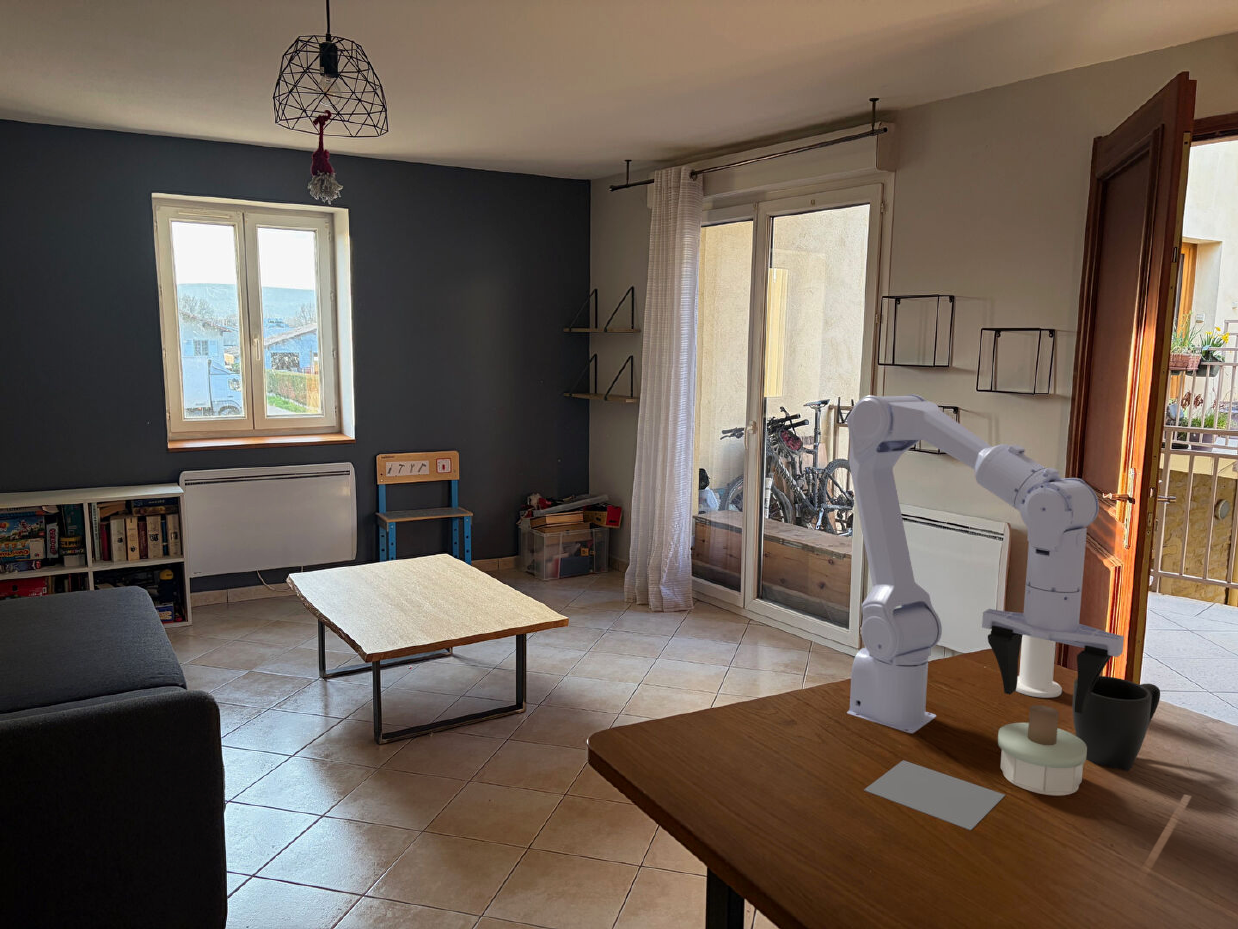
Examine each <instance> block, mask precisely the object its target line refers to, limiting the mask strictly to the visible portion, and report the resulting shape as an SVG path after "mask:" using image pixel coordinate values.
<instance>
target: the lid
mask: <svg viewBox="0 0 1238 929" xmlns="http://www.w3.org/2000/svg"><path fill="white" fill-rule="evenodd" d="M1028 711H1029V713H1028V722H1012V723H1008V724H1004V725H1003V726H1001V727H1000V728H999V730H998V735H997V745H998V747H999V748H1000V749H1001V751H1002V750H1003V751H1004V752H1006V753H1007V754H1009V755H1010V756H1012V757H1014V758H1016V759H1019V760H1021V761H1024V762H1027V763H1030V764H1034V765H1038V766H1043V767H1050V768H1072V767H1077V766H1080V765H1082V764H1083V765H1084V764H1085V763H1086V761H1087V760H1086V754H1087V746H1086V744H1085V743H1084V742H1083V741H1082V740H1081V739H1080V738H1078V737H1077V736H1076V734H1074V733H1071V732H1070V731H1068V730H1064V729H1061V728H1059V711H1058V710H1057V709H1056V708H1053V707H1050V706H1047V705H1040V704H1038V705H1036V704H1035V705H1031V706H1029V710H1028Z"/></svg>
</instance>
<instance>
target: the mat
mask: <svg viewBox="0 0 1238 929" xmlns="http://www.w3.org/2000/svg"><path fill="white" fill-rule="evenodd" d="M863 791H864V792H866V793H870V794H872V795H875V796H878V797H881V798H883V799H886V800H889V801H891V802H894V803H896V804H899V805H902V806H905V807H907V808H910V809H913V810H915V811H917V812H920V813H923V814H926V815H928V816H931V817H934V818H936V819H939V820H942V821H944V822H948V823H950V824H953V825H955V826H958V827H961V828H963V829H966V830H968V831H972V830H974V828H975V827H976V826H977V825H978V824H979V822H981V821H982V820H983V819H984V818H985V817H986V816H987V815H988V814H989V813H990V812H991V811H992V810H993V809H994V807H995V806H997V804H999V803H1000V801H1002V799H1003V798H1005V797H1006V794H1004V793H1000V792H999V791H995V790H993V789H989V788H986V787H984V786H980V785H977V784H975V783H972V782H969V781H966V780H962V779H960V778H957V777H954V776H951V775H948V774H945V773H942V772H940V771H936V770H935V769H930V768H928V767H924V766H921V765H918V764H915V763H912V762H909V761H906V760H904V759H903V760H902V761H900V762H898V764H896V765H894V766H893V767H892V768H891V769H890V770H888V771H887V772H885V773H884V774H883V775H882V776H880V777H878V778H877V779H876V780H875V781H874V782H872V783H871V784H870V785H868V786H867V787H866V788H865V789H863Z"/></svg>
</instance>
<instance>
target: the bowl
mask: <svg viewBox="0 0 1238 929" xmlns="http://www.w3.org/2000/svg"><path fill="white" fill-rule="evenodd" d="M1000 769H1001V770H1002V774H1003V776H1004V777H1005V778H1006V780H1007V781H1008V782H1010V783H1011V784H1013V785H1015V786H1017V787H1019V788H1021V789H1022V790H1023V789H1024V790H1027V791H1029V792H1033V793H1036V794H1040V795H1041V794H1042V795H1047V796H1066V795H1071V794H1073V793H1076V792H1077V791H1078V790H1079V788H1080V784H1081V783H1082V782H1083V771H1084V770H1083V769H1084V763H1083V764H1082V765H1080V766H1077V767H1072V768H1050V767H1043V766H1038V765H1034V764H1030V763H1027V762H1024V761H1021V760H1019V759H1016V758H1014V757H1012V756H1010V755H1009V754H1007V753H1006V752H1004V751H1003V750H1002V749H1001V755H1000Z"/></svg>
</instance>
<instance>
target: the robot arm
mask: <svg viewBox="0 0 1238 929" xmlns="http://www.w3.org/2000/svg"><path fill="white" fill-rule="evenodd" d="M846 424H847V429H848V433H849V434H848V435H849V440H850V448H849V456H848V463H849V464H848V465H849V470H850V476H851V480H852V486H853V490H854V496H855V501H856V506H857V512H858V516H859V522H860V527H861V533H862V537H863V543H864V547H865V553H866V558H867V563H868V569H869V573H870V579H871V583H872V584H871V585H872V588H871V591H870V592H869V593H868V595H867V596H866V598H864V601H862V604H861V612H862V622H861V626H860V627H861V628H860V633H861V634H860V636H861V639H862V643H863V646H864V647H863V648H861V649H860V650H859V651H858V652H857V653H856V655H855V657H854V658H853V659H854V660H853V663H852V667H851V675H850V692H849V693H850V697H849V710H848V711H847V712H846V713H847V714H848V715H851V716H855V717H858V718H861V719H864V720H866V721H869V722H873V723H877V724H880V725H883V726H886V727H888V728H889V727H890V728H892V729H896V730H899V731H901V732H905V733H908V734H914V733H915V732H917V731H918V730H920V729H921V728H922V727H924V726H926V725H927V724H928V723H929V722H931V721H932V720H934V719H935V718H937V715H936V714H935V713H932V712H928V711H926V707H927V706H926V704H927V685H928V670H929V658H930V656H932V648H934V647H935V646H936V645H938V643H939V642H940V640H941V637H942V631H943V627H942V622H941V618H940V617H939V615H938V613H937V612H936V610H935V609H934V607H933V605H932V602H931V596H930V593H928V592H927V591H926V589H924V588H923V587H921V586H920V585H919V584H918V583H916V581H915V577H914V576H915V575H914V571H913V567H912V566H913V565H912V561H911V556H910V552H909V546H908V542H907V536H906V531H905V526H904V521H903V515H902V511H901V507H900V506H901V505H900V500H899V496H898V490H897V486H896V485H897V484H896V482H895V476H894V470H893V468H894V467H895V465H896V463H897V462H898V461H899V459H900V458H901V456H902V455H903V454H905V453H906V452H908V451H909V450H910V449H911V448H912V447H914V446H915V445H917V443H919V442H920V441H924V442H926V443H928V444H929V445H931V446H933V447H935V448H936V449H938V450H940V451H942V453H943V452H944V453H945V454H947V455H949V456H950V457H952V458H954V459H956V460H958V461H959V462H961V463H962V464H963V465H966V466H968V467H970V468H971V469H973V470H974V476H975V477H974V478H975V481H976V483H977V484H978V485H979V486H981V487H982V488H984V489H985V490H987V491H988V492H990V493H992V494H993V495H994V496H996V497H997V498H999V499H1000V500H1002V501H1004V503H1006V504H1008V505H1009V506H1011V507H1013V509H1015V510H1016V511H1018V512H1019V514H1020V517H1021V520H1022V522H1023V523H1024V525H1025V526H1026V529H1027V542H1028V549H1027V559H1026V560H1027V561H1026V562H1027V563H1026V574H1025V575H1026V576H1025V586H1024V587H1025V588H1024V589H1025V590H1024V602H1023V605H1024V606H1023V613H1021V612H1016V611H1015V612H1014V611H1006V610H997V609H992V608H988V609H986V610H985V611H983V612H982V622H981V628H983V629H987V630H991V631H990V633H989V634H988V635H987V642H988V644H989V645H990V648H991V649H992V652H993V654H994V657H995V659H996V661H997V664H998V667H999V671H1000V676H1001V679H1002V686H1003V693H1004V694H1006V695H1009V696H1011V695H1012V694H1013V693H1014V692H1016V691H1015V690H1016V687H1017V680H1018V676H1019V675H1018V674H1019V658H1020V653H1021V646H1022V636H1023V635H1027V636H1032V637H1036V638H1041V639H1045V640H1050V641H1055V642H1056V643H1060V644H1064V645H1069V646H1073V647H1078V648H1084V649H1083V650H1081V651H1080V652H1079V653H1077V654H1076V665H1077V678H1078V685H1077V693H1076V699H1075V712H1077V713H1083V712H1084V711H1085V710H1086V709H1087V705H1088V701H1089V697H1090V694H1091V692H1092V689H1093V687H1094V685H1095V683H1096V681H1097V679H1098V677H1099V676H1101V673H1102V671H1103V670H1104V669H1105V667H1106V665H1107V663H1108V662H1109V661H1110V659H1111V658H1112V657H1115V658H1119V656H1121V655H1122V654H1123V652H1124V640H1125V636H1124V635H1121V634H1116V633H1111V632H1108V631H1104V630H1101V629H1099V628H1095V627H1091V626H1088V625H1084V624H1081V623H1080V614H1081V606H1082V605H1081V603H1082V592H1083V582H1084V581H1083V580H1084V579H1083V578H1084V567H1085V558H1086V557H1085V555H1086V543H1087V530H1088V528H1087V527H1089V526H1090V525H1091V524H1093V522H1095V520H1096V519H1097V517H1098V514H1099V511H1100V502H1099V498H1098V496H1097V493H1096V492H1095V490H1094V489H1093V488H1092V487H1091V486H1090V485H1088V484H1087V483H1086V481H1084V480H1083V478H1077V477H1068V478H1067V477H1066V478H1061V476H1060V471H1059V470H1057V469H1056V468H1054V467H1048V468H1047V467H1045V466H1044V465H1042V464H1040V463H1039V462H1037V461H1035V460H1034V459H1032V458H1031V457H1028V456H1027V455H1025V452H1026V449H1025V448H1024V447H1022V446H1021V445H1019V444H1011V445H1009V444H1006V443H1004V444H1003V443H1002V444H997V445H995V446H991V445H990V444H989V443H988V442H986V441H985V440H983V439H982V438H980V437H979V436H978V435H976V434H975V433H973V432H972V431H970V430H969V429H967V428H966V427H964V425H962V424H961V423H959V422H958V421H956V420H954V419H953V418H952V417H951V416H950V415H948V414H946V413H945V412H943V411H942V410H941V409H940V408H939V406H938V404H937V403H934V402H932V401H929V400H928V401H927V399H926V398H924V397H923V396H921V395H918V394H914V393H913V394H906V395H891V396H890V395H887V396H885V395H884V396H883V395H882V396H877V395H866V396H863V397H861V398H860V399H859V400H858V401H857V402H856V403H855V405H854V407H853V408H852V410H851V411H850V413H849V415H848V416H847V418H846Z"/></svg>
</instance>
